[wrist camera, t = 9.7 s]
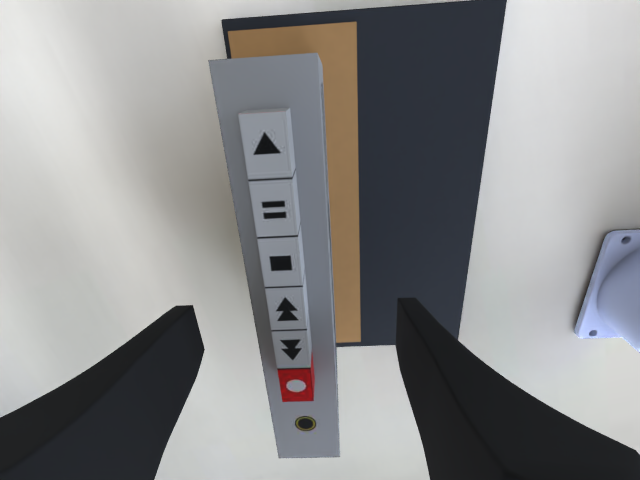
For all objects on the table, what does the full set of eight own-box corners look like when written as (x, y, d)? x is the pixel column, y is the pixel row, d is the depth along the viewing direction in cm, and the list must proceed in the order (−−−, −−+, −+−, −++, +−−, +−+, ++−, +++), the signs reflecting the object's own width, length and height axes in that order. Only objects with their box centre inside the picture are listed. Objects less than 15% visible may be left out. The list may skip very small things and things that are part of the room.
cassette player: (335, 323, 23) (340, 481, 14) (295, 325, 23) (275, 482, 14) (322, 65, 16) (316, 49, 7) (267, 69, 17) (194, 57, 8)
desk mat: (501, 0, 16) (508, -4, 15) (454, 337, 24) (458, 344, 24) (224, 21, 16) (220, 19, 16) (274, 343, 25) (272, 350, 24)
